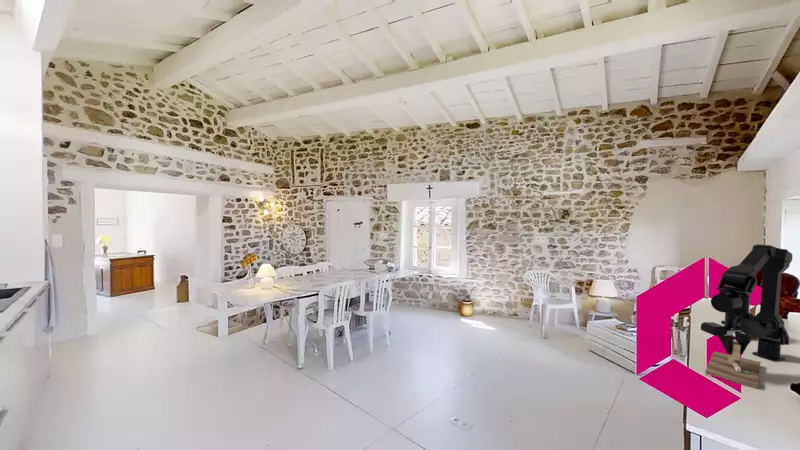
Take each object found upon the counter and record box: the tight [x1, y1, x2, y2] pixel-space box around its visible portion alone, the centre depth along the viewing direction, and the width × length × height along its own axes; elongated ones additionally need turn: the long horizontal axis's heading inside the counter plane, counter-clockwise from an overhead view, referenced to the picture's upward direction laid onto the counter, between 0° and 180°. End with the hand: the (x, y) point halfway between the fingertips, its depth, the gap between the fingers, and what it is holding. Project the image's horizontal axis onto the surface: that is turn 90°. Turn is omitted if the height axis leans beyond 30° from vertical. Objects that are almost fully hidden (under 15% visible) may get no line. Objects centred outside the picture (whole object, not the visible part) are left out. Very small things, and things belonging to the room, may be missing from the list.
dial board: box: [704, 351, 761, 390], centre depth 119 cm, size 22×12×2 cm, turn 133°
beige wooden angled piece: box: [727, 339, 741, 372], centre depth 117 cm, size 8×3×8 cm, turn 149°
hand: (734, 354), depth 118 cm, fingers closed on beige wooden angled piece, 3 cm apart
